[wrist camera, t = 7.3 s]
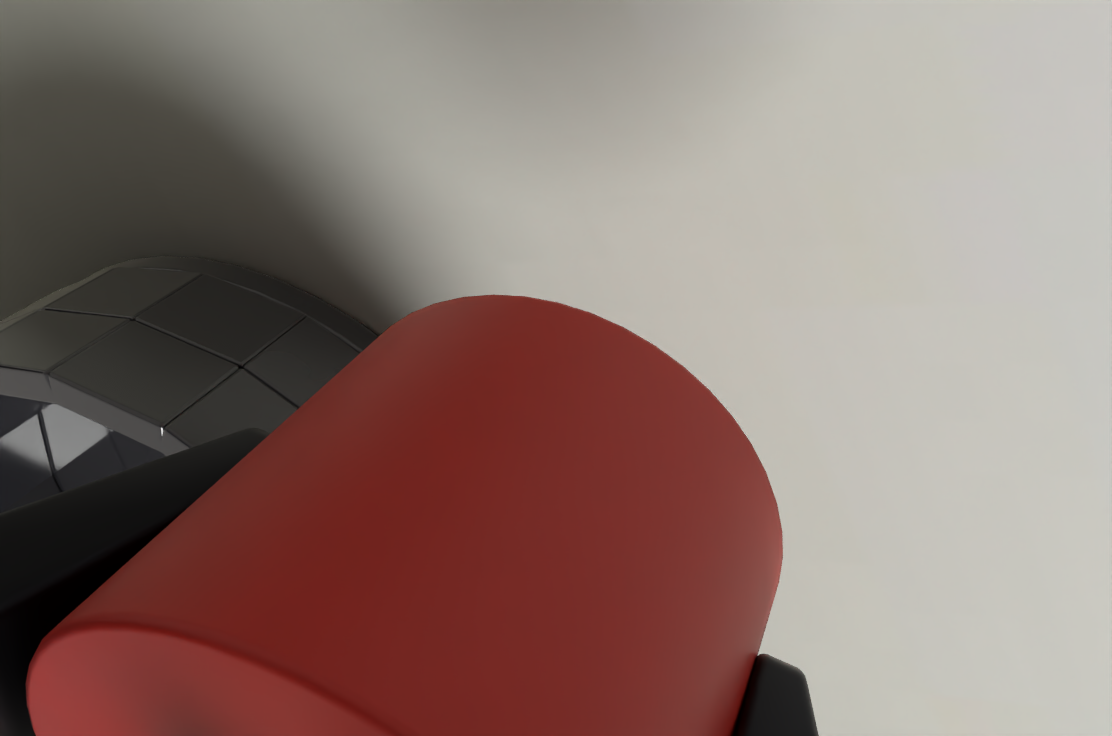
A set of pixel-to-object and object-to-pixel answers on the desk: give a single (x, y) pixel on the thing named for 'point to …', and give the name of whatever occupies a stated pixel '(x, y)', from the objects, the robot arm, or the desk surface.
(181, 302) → the pan
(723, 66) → the desk surface
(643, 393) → the pepper
